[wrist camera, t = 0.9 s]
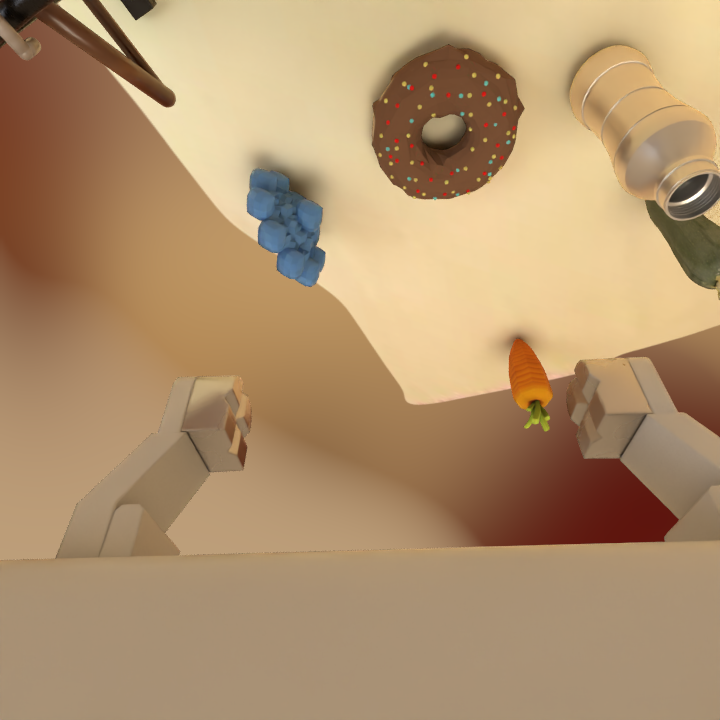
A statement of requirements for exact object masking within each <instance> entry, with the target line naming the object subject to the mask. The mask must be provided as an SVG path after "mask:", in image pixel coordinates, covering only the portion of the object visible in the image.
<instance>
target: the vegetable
mask: <svg viewBox="0 0 720 720" xmlns="http://www.w3.org/2000/svg"><path fill="white" fill-rule="evenodd" d="M645 202H646V206H647V210H648V213H649V215H650V218H651V220H652V221H653V222H654V224H655V225H656V226H657V227H658V229H659V230H660V231H661V233H662V235H663V236H664V238H665V239H666V241H667V242H668V244H669V246H670V247H671V249H672V251H673V253H674V255H675V257H676V258H677V260H678V262H679V263H680V265H681V267H682V268H683V270H684V272H685V273H686V275H687V276H688V277H689V278H690V279H691V280H692V281H693V282H695V283H696V284H698V285H700V286H702V287H704V288H707V289H716V290H717V291H718V298H719V300H720V227H719V226H718V225H716V224H715V223H713V222H712V221H710V220H709V219H707V218H706V217H705V216H704V215H703V214H702V215H701V216H699V217H696V218H694V219H690V220H685V221H678V220H674V219H672V218H670V217H669V216H668V215H667V214H666V213H665V211H664V210H663V209H662V208H661V207H660V206H659V205H658V204H657V202H656V200H645Z"/></svg>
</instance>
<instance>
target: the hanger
mask: <svg viewBox="0 0 720 720" xmlns="http://www.w3.org/2000/svg"><path fill="white" fill-rule="evenodd" d="M83 1H84V3H85V4H86V5H87V6H88V8H89V9H90V10H91V12H92V13H93V14H94V15H95V17H96V18H97V19H98V20H99V22H100V23H101V24H102V26H103V27H104V28H105V29H106V31H107V32H108V33H109V34H110V36H111V37H112V38H113V40H114V41H115V42H116V43H117V45H118V46H119V47H120V48H121V50H122V51H123V52H124V54H125V55H126V56H127V57H126V56H125V55H124V54H122V53H121V52H120V51H118V50H117V49H116V48H114V47H113V46H112V45H110V44H109V43H108V42H106V41H105V40H104V39H102V38H101V37H100V36H98V35H97V34H96V33H94V32H93V31H92V30H90V29H89V28H88V27H86V26H85V25H84V24H82V23H81V22H80V21H78V20H77V19H76V18H74V17H73V16H72V15H70V14H69V13H68V12H66V11H65V10H64V9H62V8H61V7H60V6H58V5H57V4H56V3H54V2H52V3H50V4H49V5H48V6H47V7H45V8H44V9H43V10H42V11H41V12H39V13H38V14H37V15H36V16H35V17H36V18H38V19H39V20H41V21H42V22H44V23H45V24H46V25H48V26H49V27H51V28H52V29H53V30H55V31H56V32H58V33H59V34H61V35H62V36H63V37H65V38H66V39H68V40H69V41H71V42H72V43H73V44H75V45H76V46H78V47H79V48H81V49H82V50H84V51H85V52H87V53H88V54H89V55H91V56H92V57H94V58H95V59H96V60H98V61H99V62H101V63H102V64H104V65H105V66H106V67H108V68H109V69H111V70H112V71H114V72H115V73H116V74H118V75H119V76H121V77H122V78H124V79H125V80H126V81H128V82H129V83H131V84H132V85H134V86H135V87H137V88H138V89H139V90H141V91H142V92H144V93H145V94H147V95H148V96H149V97H151V98H152V99H154V100H155V101H157V102H158V103H159V104H161V105H162V106H164V107H172V106H173V105H174V104H175V101H176V97H175V94H174V93H173V91H171V90H170V89H169V88H168V87H166V86H165V85H164V84H163V83H162V82H161V80H160V79H159V78H158V76H157V75H156V74H155V73H154V71H153V70H152V69H151V67H150V66H149V65H148V63H147V62H146V61H145V59H144V58H143V57H142V56H141V54H140V53H139V52H138V50H137V49H136V48H135V46H134V45H133V44H132V42H131V41H130V40H129V39H128V37H127V36H126V35H125V33H124V32H123V31H122V29H121V28H120V27H119V25H118V24H117V23H116V22H115V20H114V19H113V18H112V16H111V15H110V14H109V12H108V11H107V10H106V8H105V7H104V6H103V5H102V3H101V2H100V1H99V0H83ZM0 36H1V37H2V38H3V39H4V40H5V41H6V42H7V43H8V45H9V46H10V47H11V48H12V49H13V50H14V51H15V52H16V53H17V54H18V55H19V56H20V57H21V58H22V59H25V60H30V59H32V58H33V57H34V56H35V55H36V54H37V53H38V52H39V51H40V50H41V45H40V43H39V42H38V40H36V39H35V38H32V37H29V38H27V39H26V40H23V39H22V37H21V36H20V35H19V34H18V33H17V32H16V31H15V30H14V28H13V27H12V26H11V25H10V24H9V23H8V22H7V21H6V20H5V19H4V17H3V16H2V15H1V14H0Z"/></svg>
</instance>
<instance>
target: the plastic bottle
mask: <svg viewBox="0 0 720 720" xmlns="http://www.w3.org/2000/svg"><path fill="white" fill-rule="evenodd" d="M570 103H571V107H572V111H573V114H574V116H575V118H576V119H577V120H578V121H579V122H580V123H581V124H582V125H583V126H585V127H586V128H587V129H589V130H591V131H592V132H593V133H594V134H595V135H596V136H597V137H598V138H599V139H600V140H601V141H602V143H603V144H604V146H605V148H606V150H607V152H608V154H609V156H610V159H611V162H612V165H613V168H614V171H615V174H616V177H617V179H618V181H619V183H620V185H621V186H622V188H623V189H624V190H625V191H626V192H628V193H630V194H632V195H634V196H636V197H638V198H640V199H644V200H656V202H657V204H658V205H659V206H660V207H661V208H662V209H663V210H664V211H665V213H666V214H667V215H668V216H669V217H670V218H672V219H674V220H678V221H685V220H690V219H694V218H696V217H699V216H701V215H702V214H704V213H706V212H707V211H709V210H710V209H711V208H712V207H714V206H715V205H716V204H717V202H718V201H719V200H720V171H719V170H718V167H717V165H716V164H715V162H714V161H713V156H714V153H715V149H716V135H715V131H714V128H713V125H712V122H711V121H710V120H709V119H708V117H707V116H705V115H704V114H702V113H701V112H700V111H698V110H696V109H695V108H692V107H691V106H689V105H687V104H685V103H683V102H681V101H679V100H677V99H676V98H675V97H673V96H672V95H671V94H670V93H668V92H667V91H666V90H665V89H664V88H662V86H661V85H660V83H659V82H658V80H657V79H656V77H655V76H654V72H653V70H652V68H651V65H650V63H649V62H648V60H647V58H646V57H645V56H644V54H643V53H641V52H640V51H638V50H636V49H633V48H631V47H627V46H624V45H615V46H610V47H607V48H604V49H602V50H600V51H598V52H597V53H595V54H594V55H592V56H591V57H590V58H589V59H587V61H586V62H585V63H584V64H583V65H582V66H581V67H580V69H579V70H578V72H577V73H576V75H575V77H574V79H573V82H572V85H571V89H570Z"/></svg>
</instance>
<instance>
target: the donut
mask: <svg viewBox="0 0 720 720" xmlns="http://www.w3.org/2000/svg"><path fill="white" fill-rule="evenodd" d="M523 110H524V107H523V105H522V103H521V101H520V99H519V98H518V95H517V89H516V83H515V79H514V78H513V77H512V76H510V75H509V74H508V73H507V72H505V71H504V70H503V69H502V68H501V67H499V66H498V65H497V64H495V63H493V62H490V61H487V60H486V59H485V58H483V57H482V56H481V55H480V54H479V53H478V52H475V51H473V50H471V49H456V48H454V47H453V46H451V45H446V46H444V47H442V48H439V49H437V50H435V51H432V52H429V53H427V54H424V55H422V56H419V57H416V58H415V59H413V60H412V61H410V62H408V63H407V64H406V65H404V66H403V67H402V68H401V69H400V70H399V71H397V72H396V73H395V74H394V75H393V76H392V79H391V82H390V83H389V85H388V86H387V88H386V89H385V91H384V92H383V94H382V95H381V97H380V99H379V100H377V101H375V102H374V103H373V111H374V116H373V127H372V139H373V141H372V146H373V148H374V150H375V153H376V155H377V158H378V161H379V164H380V167H381V168H382V170H383V171H384V173H385V174H386V175H387V177H388V178H389V179H390V181H391V182H392V183H393V185H396V186H398V187H400V188H401V189H403V190H404V191H405V193H406V194H407V195H409V196H412V197H413V199H416V198H419V199H434V200H436V199H451V198H454V197H457V196H460V195H463V194H466V193H467V194H470V192H473V191H475V190H477V189H479V188H480V187H482V186H483V185H485V184H486V183H490V180H491V179H492V177H493V176H494V175H495V174H496V173H497V172H498V171H499V170H500V169H502V167H503V166H504V164H505V163H506V161H507V159H508V157H509V155H510V154H511V152H512V150H513V147H514V144H515V139H516V132H517V125H518V119H519V117H520V116H521V114H522V112H523ZM449 114H455V115H458V116H460V117H462V118H463V120H464V122H465V124H466V126H467V128H466V131H465V134H464V136H463V137H462V139H461V140H460V141H459V142H458V143H457V144H456V145H454V146H452V147H451V148H449V149H445V150H438V149H432V148H429V147H428V146H427V145H426V144H425V143H424V142H423V141H422V138H421V134H422V129H423V126H424V125H425V124H426V123H427V122H428V121H429V120H430V119H431V118H433V117H436V118H441V117H444V116H446V115H449Z"/></svg>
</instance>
